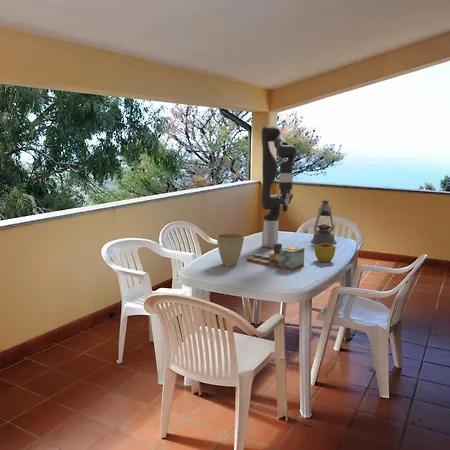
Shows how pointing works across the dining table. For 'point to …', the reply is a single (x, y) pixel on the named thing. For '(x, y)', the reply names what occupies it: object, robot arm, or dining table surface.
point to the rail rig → (282, 259)
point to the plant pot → (230, 247)
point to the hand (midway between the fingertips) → (284, 211)
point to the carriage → (275, 252)
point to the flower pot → (324, 252)
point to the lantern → (323, 226)
